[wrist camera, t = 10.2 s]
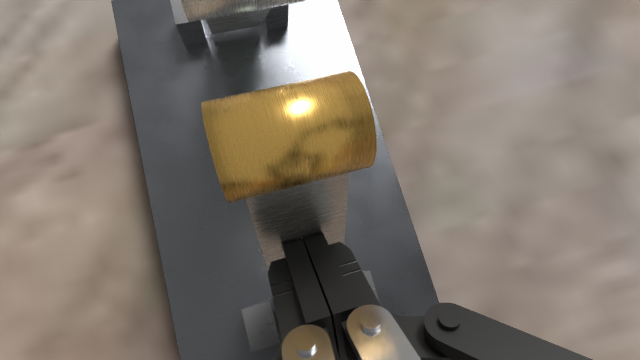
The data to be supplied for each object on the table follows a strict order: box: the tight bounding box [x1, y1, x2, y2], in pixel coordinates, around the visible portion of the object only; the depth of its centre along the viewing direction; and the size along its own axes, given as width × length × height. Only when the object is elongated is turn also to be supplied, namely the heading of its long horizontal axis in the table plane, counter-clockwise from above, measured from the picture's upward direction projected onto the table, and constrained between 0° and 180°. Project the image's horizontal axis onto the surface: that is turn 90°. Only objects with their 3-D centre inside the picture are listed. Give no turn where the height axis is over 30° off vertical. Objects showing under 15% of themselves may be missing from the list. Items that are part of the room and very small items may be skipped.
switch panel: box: [111, 0, 439, 360], centre depth 22 cm, size 14×26×4 cm, turn 16°
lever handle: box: [201, 71, 377, 270], centre depth 14 cm, size 4×3×14 cm
